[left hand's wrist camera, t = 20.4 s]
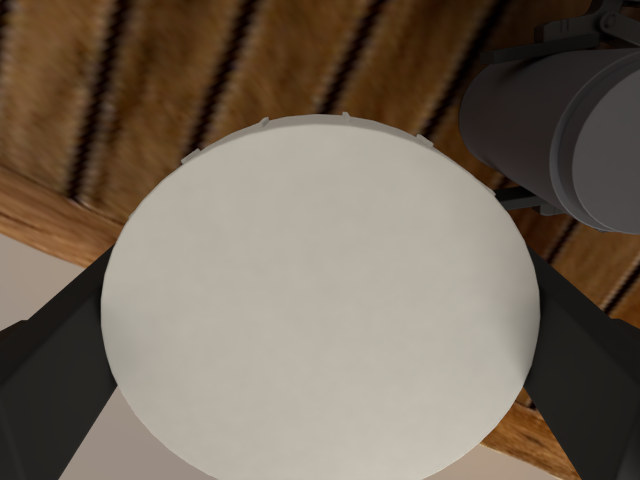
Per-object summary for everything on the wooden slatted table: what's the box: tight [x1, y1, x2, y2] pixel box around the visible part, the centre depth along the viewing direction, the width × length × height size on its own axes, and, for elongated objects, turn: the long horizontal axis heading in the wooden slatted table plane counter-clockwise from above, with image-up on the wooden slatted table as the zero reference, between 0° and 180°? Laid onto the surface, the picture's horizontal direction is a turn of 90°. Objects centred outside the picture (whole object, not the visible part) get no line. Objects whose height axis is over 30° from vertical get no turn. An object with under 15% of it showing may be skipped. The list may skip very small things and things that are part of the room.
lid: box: [101, 112, 540, 480], centre depth 11 cm, size 10×10×2 cm
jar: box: [459, 48, 640, 234], centre depth 29 cm, size 9×9×18 cm
